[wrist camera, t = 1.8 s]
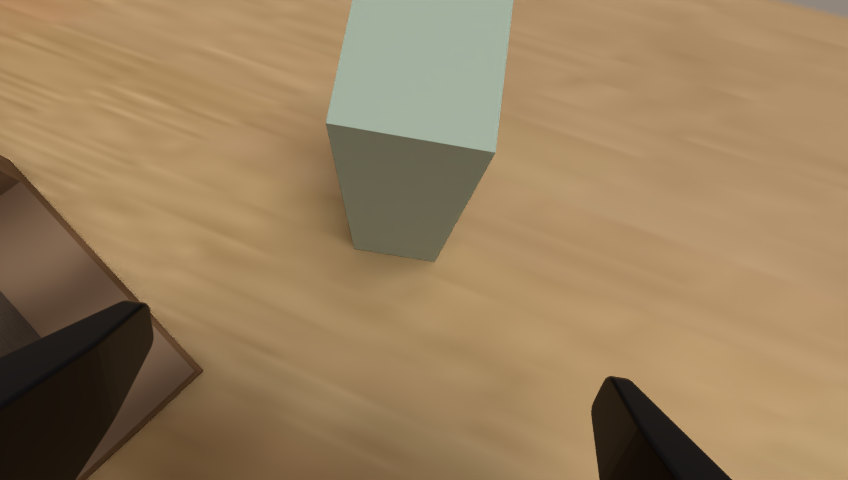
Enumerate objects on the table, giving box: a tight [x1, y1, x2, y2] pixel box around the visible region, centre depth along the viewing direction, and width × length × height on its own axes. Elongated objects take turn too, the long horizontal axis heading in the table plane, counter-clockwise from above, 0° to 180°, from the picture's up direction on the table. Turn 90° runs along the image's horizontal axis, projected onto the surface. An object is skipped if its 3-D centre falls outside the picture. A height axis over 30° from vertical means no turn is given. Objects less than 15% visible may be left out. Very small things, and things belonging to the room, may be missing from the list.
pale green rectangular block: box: [326, 0, 513, 262], centre depth 18 cm, size 6×4×13 cm, turn 172°
